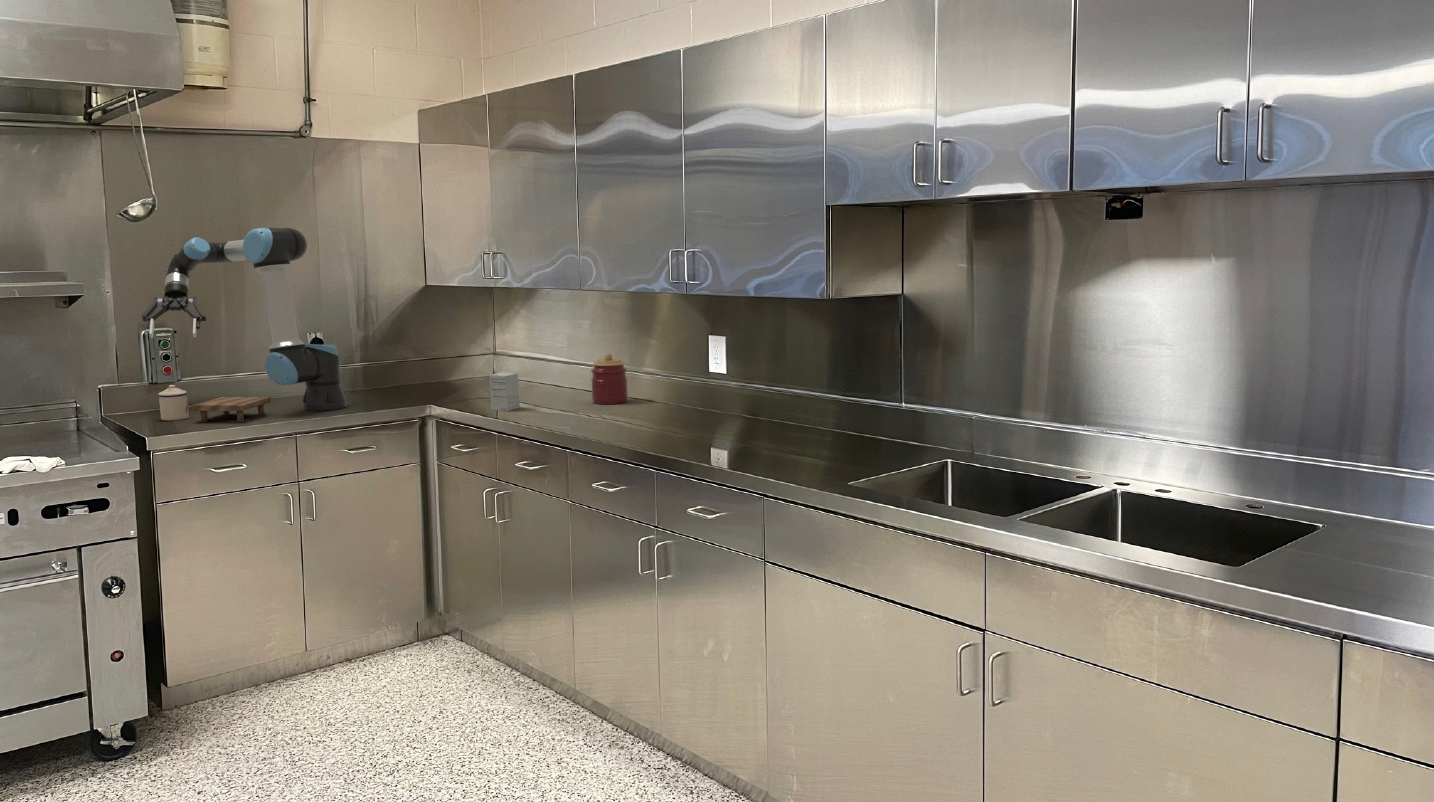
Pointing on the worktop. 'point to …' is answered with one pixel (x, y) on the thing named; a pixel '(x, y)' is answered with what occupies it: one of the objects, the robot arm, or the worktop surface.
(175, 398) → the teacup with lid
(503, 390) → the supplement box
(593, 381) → the canister
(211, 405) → the brown wooden stand
